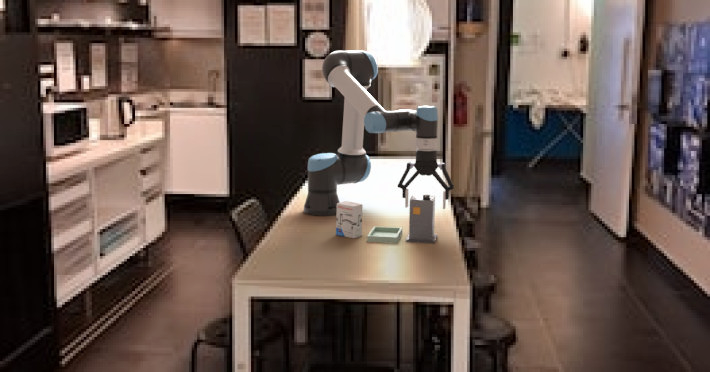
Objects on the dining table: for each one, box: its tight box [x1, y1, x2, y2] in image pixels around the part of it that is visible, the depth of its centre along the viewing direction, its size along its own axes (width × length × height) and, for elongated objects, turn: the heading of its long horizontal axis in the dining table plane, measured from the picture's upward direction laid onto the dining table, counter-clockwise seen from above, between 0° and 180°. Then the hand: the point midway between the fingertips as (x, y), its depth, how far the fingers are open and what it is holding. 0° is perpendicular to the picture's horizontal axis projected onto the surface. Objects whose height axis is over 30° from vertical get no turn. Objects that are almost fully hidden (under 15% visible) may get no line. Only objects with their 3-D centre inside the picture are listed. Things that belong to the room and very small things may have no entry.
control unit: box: [405, 194, 438, 244], centre depth 274 cm, size 10×10×16 cm
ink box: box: [335, 200, 363, 239], centre depth 279 cm, size 9×5×12 cm, turn 52°
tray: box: [366, 225, 403, 244], centre depth 278 cm, size 10×14×2 cm
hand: (425, 207), depth 284 cm, fingers open, 13 cm apart
